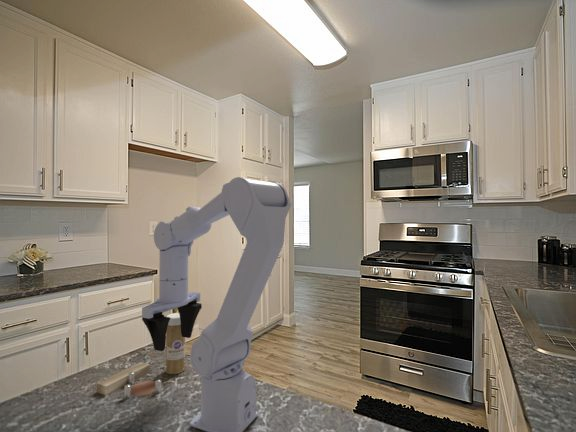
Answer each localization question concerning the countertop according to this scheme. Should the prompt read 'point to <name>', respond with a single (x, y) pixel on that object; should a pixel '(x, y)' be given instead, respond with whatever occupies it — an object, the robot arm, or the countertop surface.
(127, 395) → the guide pins
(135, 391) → the wooden bar with disc
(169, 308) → the robot arm
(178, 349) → the sprinkles bottle
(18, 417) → the countertop surface
